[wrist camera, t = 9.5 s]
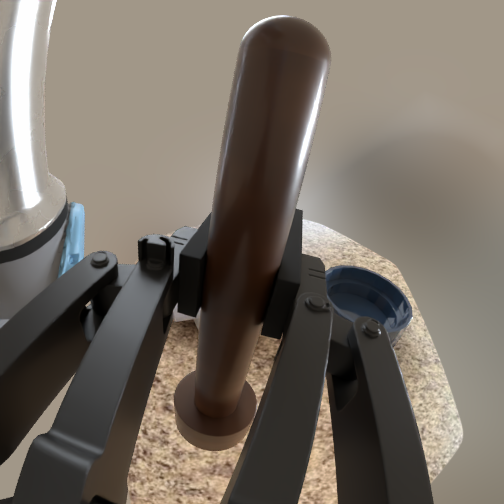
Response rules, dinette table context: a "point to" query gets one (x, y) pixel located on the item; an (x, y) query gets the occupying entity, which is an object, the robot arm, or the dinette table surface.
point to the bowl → (368, 298)
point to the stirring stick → (251, 219)
